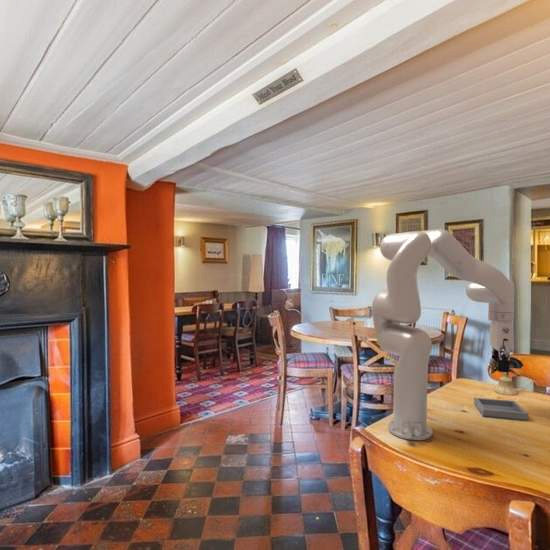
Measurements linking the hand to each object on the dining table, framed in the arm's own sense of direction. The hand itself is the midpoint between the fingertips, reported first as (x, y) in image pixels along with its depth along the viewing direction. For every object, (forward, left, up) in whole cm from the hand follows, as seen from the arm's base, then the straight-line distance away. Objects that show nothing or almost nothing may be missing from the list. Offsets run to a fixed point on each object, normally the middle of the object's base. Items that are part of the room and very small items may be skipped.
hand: (500, 368), depth 130 cm
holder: (0, 0, -15) cm, 15 cm away
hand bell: (+24, -9, -15) cm, 30 cm away
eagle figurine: (0, -2, -2) cm, 3 cm away
